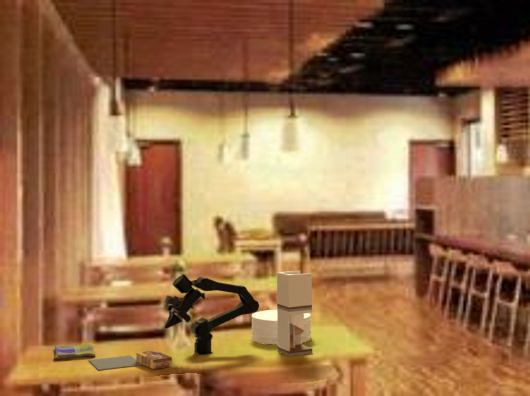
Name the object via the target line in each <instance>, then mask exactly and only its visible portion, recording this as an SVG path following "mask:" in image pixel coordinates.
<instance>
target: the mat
mask: <svg viewBox="0 0 530 396" xmlns="http://www.w3.org/2000/svg"><path fill="white" fill-rule="evenodd" d="M88 362H89V363H90V364H91V365H92V366H93V368H95V369H96V370H97V371H98V372H99V371H106V370H113V369H123V368H124V369H125V368H131V366H132V367H138V366H142V365H143V364H140V363H138V362H136V358H134V357H133V356H132V355H129V354H128V355H122V356H120V355H119V356H112V357H111V356H110V357H103V358H92V359H89V360H88Z"/></svg>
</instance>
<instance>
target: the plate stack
mask: <svg viewBox="0 0 530 396" xmlns="http://www.w3.org/2000/svg"><path fill="white" fill-rule="evenodd" d="M311 317H312V314H311V313H305V314H304V332H303V333H302V334H301V342H305V341H308V340H309V339H312V336H311V334H312V331H311V330H312V325H311V323H312V320H311ZM251 340H252V341H253V340H254V341H256V342H255V343H257V342H258V343H257V344H261V343H264V344H263V345H267V344H276V345H275V346H278V325H277V309H270V310H269V309H268V310H260V311H257V312H255V313H251ZM254 341H253V342H254ZM308 342H309V341H308ZM305 343H306V342H305Z"/></svg>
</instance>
